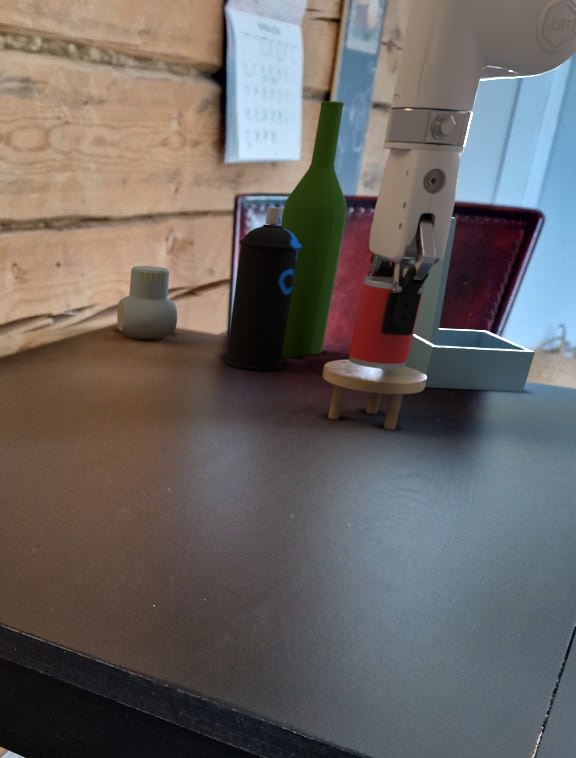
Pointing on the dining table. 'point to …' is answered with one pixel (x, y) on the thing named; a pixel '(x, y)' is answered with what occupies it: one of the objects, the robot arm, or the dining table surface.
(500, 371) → the pale blue open box
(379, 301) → the drink can
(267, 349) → the aerosol can
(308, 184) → the wine bottle
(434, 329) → the lid
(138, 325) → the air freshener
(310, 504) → the dining table surface
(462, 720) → the dining table surface
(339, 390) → the stool
